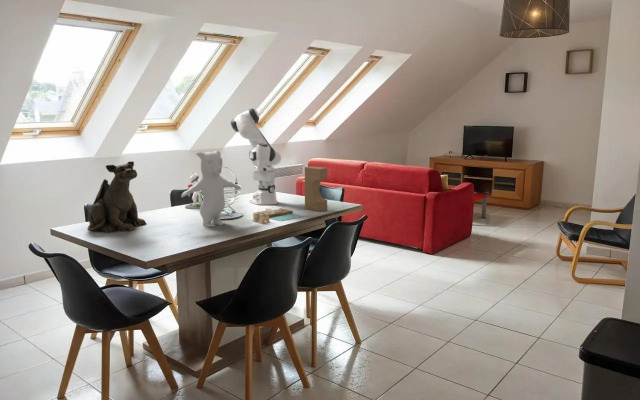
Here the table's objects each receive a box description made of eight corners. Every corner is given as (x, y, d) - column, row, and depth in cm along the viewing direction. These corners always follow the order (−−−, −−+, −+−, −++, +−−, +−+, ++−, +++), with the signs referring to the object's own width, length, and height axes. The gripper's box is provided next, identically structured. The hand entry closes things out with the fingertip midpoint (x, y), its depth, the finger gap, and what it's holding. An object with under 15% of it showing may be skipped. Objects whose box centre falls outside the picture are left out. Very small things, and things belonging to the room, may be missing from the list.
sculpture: (118, 237, 283) (113, 165, 276) (76, 229, 300) (70, 162, 293) (160, 226, 309) (156, 160, 302) (119, 220, 327) (115, 158, 320)
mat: (268, 218, 332) (268, 217, 332) (292, 214, 345) (292, 213, 345) (280, 221, 323) (280, 220, 323) (304, 216, 337) (304, 216, 337)
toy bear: (191, 233, 292) (188, 154, 284) (176, 228, 304) (172, 153, 296) (250, 221, 322) (248, 150, 314) (234, 217, 334) (232, 148, 326)
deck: (255, 215, 341) (255, 212, 340) (280, 210, 356) (280, 208, 355) (267, 218, 331) (267, 215, 331) (292, 213, 346) (292, 210, 346)
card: (265, 211, 345) (265, 208, 345) (272, 209, 349) (272, 207, 349) (273, 213, 339) (273, 210, 338) (280, 211, 343) (280, 208, 342)
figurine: (195, 204, 381) (193, 170, 377) (213, 205, 374) (212, 172, 370) (180, 208, 366) (178, 173, 362) (199, 210, 359) (197, 174, 355)
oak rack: (252, 221, 323) (252, 212, 322) (260, 219, 327) (260, 211, 326) (262, 223, 316) (261, 215, 315) (269, 222, 320) (269, 213, 319)
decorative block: (327, 210, 358) (327, 167, 353) (320, 211, 352) (320, 168, 347) (311, 207, 368) (311, 166, 363) (304, 209, 362) (304, 167, 357)
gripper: (250, 166, 351) (251, 186, 354) (268, 169, 337) (269, 189, 339) (258, 166, 355) (258, 185, 358) (276, 168, 341) (276, 188, 343)
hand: (263, 187), depth 348 cm, fingers open, 4 cm apart
